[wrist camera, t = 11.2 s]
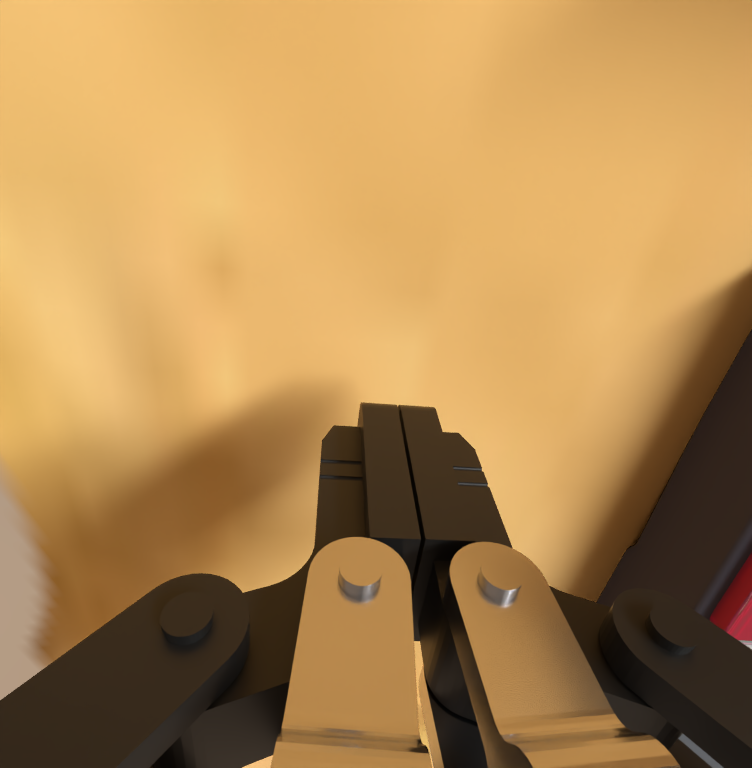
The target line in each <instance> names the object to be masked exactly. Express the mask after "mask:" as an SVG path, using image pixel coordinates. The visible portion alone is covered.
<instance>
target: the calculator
mask: <svg viewBox="0 0 752 768" xmlns="http://www.w3.org/2000/svg"><path fill="white" fill-rule="evenodd" d="M634 588H643V589H651V590H654V591H658V592H661V593H664V594H666V595H669V596H671V597H673V598H675V599H677V600H679V601H680V602H682V603H684V604H685V605H687V606H688V607H690V608H691V609H693V610H694V611H696V612H697V613H699V614H700V615H702V616H703V617H705V618H706V619H708V620H709V621H711V622H712V623H713V624H715V625H716V626H718V627H719V628H721V629H722V630H724V631H725V632H727V633H728V634H730V635H731V636H733V637H734V638H736V639H737V640H739V641H740V642H741V643H743V644H744V645H746V646H747V647H749V648H750V649H752V330H751V331H750V333H749V335H748V337H747V339H746V340H745V342H744V344H743V346H742V347H741V349H740V351H739V353H738V354H737V356H736V358H735V360H734V361H733V363H732V365H731V367H730V369H729V370H728V372H727V374H726V376H725V377H724V379H723V381H722V383H721V384H720V386H719V388H718V390H717V392H716V393H715V395H714V397H713V399H712V400H711V402H710V404H709V406H708V408H707V409H706V411H705V413H704V415H703V417H702V418H701V420H700V422H699V424H698V426H697V428H696V429H695V431H694V433H693V435H692V437H691V439H690V441H689V443H688V445H687V446H686V448H685V450H684V452H683V454H682V456H681V458H680V460H679V462H678V464H677V466H676V468H675V470H674V472H673V474H672V476H671V478H670V480H669V482H668V484H667V486H666V488H665V489H664V491H663V493H662V495H661V497H660V499H659V501H658V503H657V505H656V507H655V509H654V511H653V513H652V515H651V517H650V519H649V521H648V523H647V525H646V527H645V529H644V530H643V532H642V534H641V536H640V538H639V540H638V542H637V543H636V545H634V546H631V547H629V548H628V549H627V550H626V552H625V553H624V555H623V557H622V558H621V560H620V562H619V564H618V566H617V567H616V569H615V571H614V573H613V574H612V576H611V578H610V580H609V581H608V583H607V585H606V587H605V588H604V590H603V592H602V594H601V595H600V597H599V599H598V601H597V603H599V604H602V605H605V606H609V607H612V605H613V603H614V601H615V600H616V598H617V596H619V595H620V594H621V593H622V592H624V591H626V590H630V589H634Z"/></svg>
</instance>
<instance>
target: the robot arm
mask: <svg viewBox="0 0 752 768" xmlns="http://www.w3.org/2000/svg"><path fill="white" fill-rule="evenodd" d="M487 485H488V483H487V480H486V477H485V475H484V472H482V467H481V464H480V462H479V459H478V457H477V454H476V451H475V449H474V448H473V447H472V446H471V445H470V444H469V443H468V442H467V441H466V440H465V439H464V438H463V437H462V436H461V435H460V434H459V433H448V432H442V428H441V425H440V422H439V419H438V415H437V412H436V409H435V408H434V407H421V406H407V405H398V407H397V405H390V404H375V403H361V404H360V410H359V418H358V426H357V427H350V426H333V427H332V429H331V430H330V431H329V432H328V434H327V435H326V436H325V438H324V439H323V440H322V450H321V463H320V477H319V490H318V504H317V519H316V533H315V546H314V549H313V552H312V555H311V556H310V558H309V560H308V561H307V562H306V564H305V565H304V566H303V567H302V568H301V569H300V570H299V571H298V572H297V573H295V574H294V575H292V576H291V577H289V578H288V579H286V580H284V581H281V582H279V583H277V584H274V585H271V586H267V587H263V588H260V589H256V590H252V591H248V592H245V593H242V591H241V590H240V589H239V588H238V587H237V586H236V585H235V584H234V583H232V582H231V581H229V580H228V579H225V578H223V577H220V576H217V575H212V574H202V573H201V574H190V575H185V576H180V577H177V578H174V579H171V580H169V581H167V582H165V583H163V584H161V585H160V586H158V587H156V588H155V589H153V590H152V591H150V592H149V593H148V594H146V595H145V596H144V597H142V598H141V599H139V600H138V601H137V602H135V603H134V604H132V605H131V606H130V607H128V608H127V609H126V610H124V611H123V612H121V613H120V614H119V615H117V616H116V617H115V618H113V619H112V620H110V621H109V622H108V623H106V624H105V625H104V626H102V627H101V628H99V629H98V630H97V631H95V632H94V633H93V634H91V635H90V636H88V637H87V638H86V639H84V640H83V641H82V642H80V643H79V644H77V645H76V646H75V647H73V648H72V649H70V650H69V651H68V652H66V653H65V654H64V655H62V656H61V657H59V658H58V659H57V660H55V661H54V662H53V663H51V664H50V665H48V666H47V667H46V668H44V669H43V670H42V671H40V672H39V673H37V674H36V675H35V676H33V677H32V678H31V679H29V680H28V681H27V682H25V683H24V684H22V685H21V686H20V687H18V688H17V689H15V690H14V691H13V692H11V693H10V694H8V695H7V696H6V697H4V698H3V699H2V700H0V768H242V767H244V766H246V765H249V764H251V763H254V762H256V761H259V760H261V759H264V758H266V757H268V756H271V755H273V758H272V763H271V768H432V765H431V759H430V755H429V752H428V749H427V747H426V745H424V744H422V742H421V738H420V733H419V724H418V707H417V688H416V669H415V650H414V641H420V643H421V650H422V657H423V666H422V670H421V674H420V678H419V696H420V701H421V706H422V711H423V716H424V721H425V726H426V731H427V736H428V741H429V746H430V751H431V756H432V761H433V766H434V768H712V767H711V766H710V765H709V764H708V763H706V762H705V761H704V760H703V759H702V758H701V757H699V756H698V755H697V754H696V753H695V752H693V751H692V750H691V749H690V748H689V747H688V746H686V745H685V744H684V743H683V742H682V741H681V740H679V739H678V738H679V737H680V736H681V735H682V734H684V735H685V736H686V737H688V738H689V739H690V740H691V741H692V742H694V743H695V744H696V745H697V746H698V747H700V748H701V749H702V750H703V751H704V752H706V753H707V754H708V755H709V756H710V757H711V758H713V759H714V760H715V761H716V762H717V763H719V764H720V765H721V766H722V767H723V768H752V649H750V648H749V647H747V646H746V645H744V644H743V643H741V642H740V641H739V640H737V639H736V638H734V637H733V636H731V635H730V634H728V633H727V632H725V631H724V630H722V629H721V628H719V627H718V626H716V625H715V624H713V623H712V622H711V621H709V620H708V619H706V618H705V617H703V616H702V615H700V614H699V613H697V612H696V611H694V610H693V609H691V608H690V607H688V606H687V605H685V604H684V603H682V602H680V601H679V600H677V599H675V598H673V597H671V596H669V595H666V594H664V593H661V592H658V591H654V590H651V589H643V588H634V589H630V590H626V591H624V592H622V593H621V594H620V595H619V596H617V598H616V600H615V601H614V603H613V605H612V607H609V606H605V605H602V604H599V603H596V602H592V601H589V600H586V599H583V598H580V597H576V596H573V595H570V594H567V593H564V592H562V591H559V590H557V589H555V588H553V587H551V586H549V585H548V583H547V581H546V579H545V577H544V576H543V574H542V573H541V571H540V570H539V569H538V567H537V566H536V565H535V564H534V563H533V562H532V561H531V560H530V559H528V558H527V557H526V556H524V555H523V554H521V553H520V552H518V551H516V550H515V549H513V548H512V545H511V543H510V540H509V538H508V535H507V532H506V530H505V527H504V525H503V522H502V519H501V517H500V514H499V511H498V509H497V506H496V504H495V501H494V498H493V496H492V493H491V491H490V488H489V487H488V486H487Z"/></svg>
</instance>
